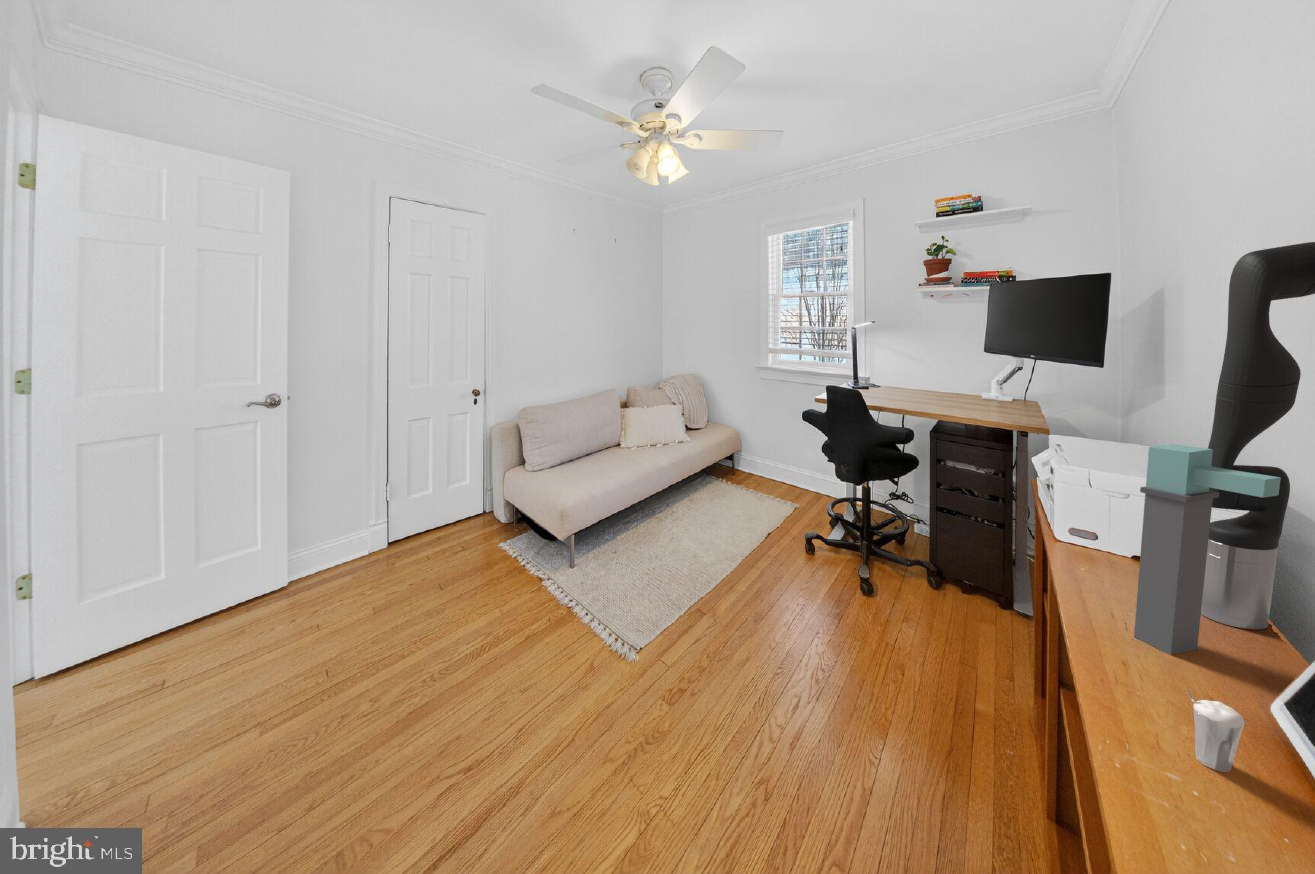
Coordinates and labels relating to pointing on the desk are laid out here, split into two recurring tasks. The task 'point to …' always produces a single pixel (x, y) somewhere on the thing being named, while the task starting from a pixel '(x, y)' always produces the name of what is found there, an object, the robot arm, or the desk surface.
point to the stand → (1172, 569)
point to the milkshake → (1216, 733)
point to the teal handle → (1201, 473)
